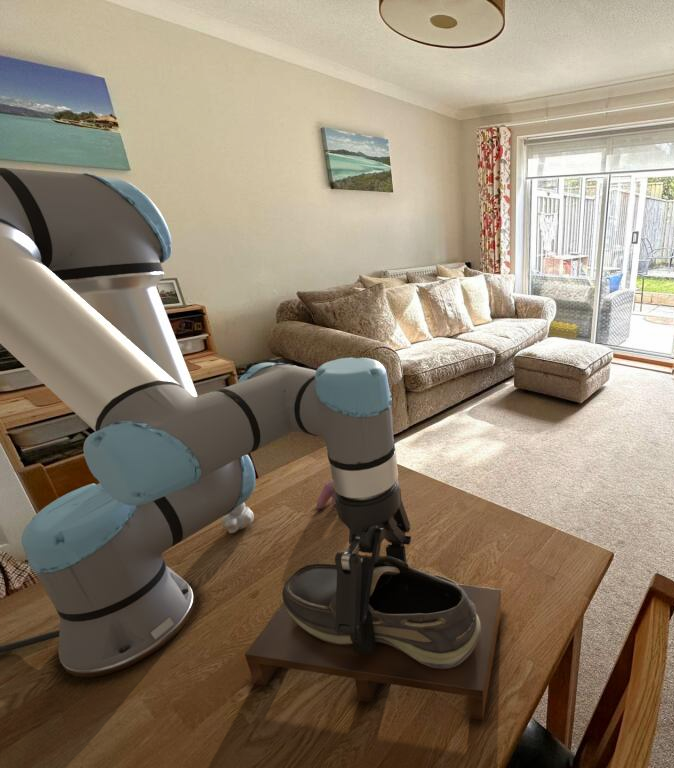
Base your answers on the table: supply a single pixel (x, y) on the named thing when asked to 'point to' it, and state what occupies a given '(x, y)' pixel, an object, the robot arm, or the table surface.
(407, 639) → the boat shoe
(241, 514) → the white lobed figurine
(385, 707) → the table surface
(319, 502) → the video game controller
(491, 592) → the small wooden pallet
